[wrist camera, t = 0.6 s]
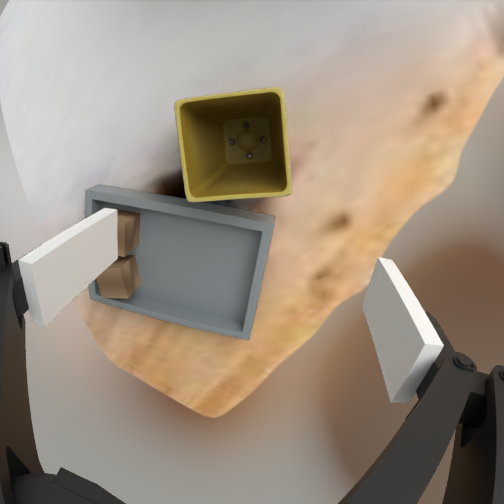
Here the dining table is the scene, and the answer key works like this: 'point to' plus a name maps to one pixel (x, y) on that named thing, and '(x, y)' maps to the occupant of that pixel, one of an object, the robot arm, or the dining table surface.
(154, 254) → the tray
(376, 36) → the dining table surface
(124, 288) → the walnut block
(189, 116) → the flower pot
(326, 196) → the dining table surface
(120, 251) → the walnut block
